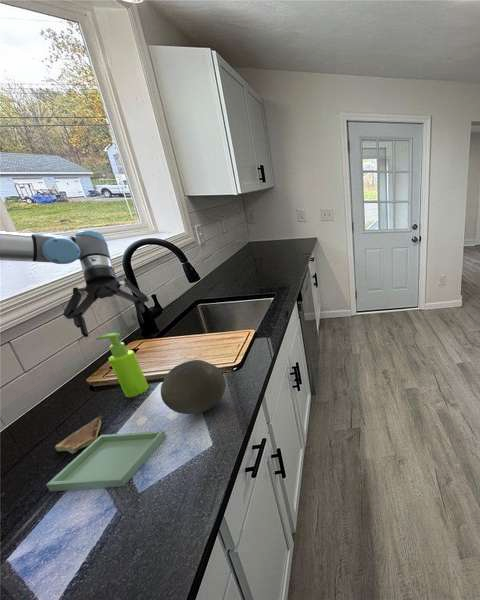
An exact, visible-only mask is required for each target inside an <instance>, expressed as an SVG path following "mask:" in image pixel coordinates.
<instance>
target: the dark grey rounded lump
mask: <svg viewBox="0 0 480 600" xmlns="http://www.w3.org/2000/svg"><path fill="white" fill-rule="evenodd" d="M226 384H227V383H226V379H225V376H224V375H223V372H222V370H220V368H219V367H218V366H216V365H214V364H212V363H210V362H208V361H206V360H202V359H193V360H188V361H185V362H182V363H180V364H178V365H176V366H174V367H172V368H171V369H170V370H169V371H168V372H167V374H166V375H165V376H164V377H163V381H162V383H161V385H160V397H161V400H162V402H163V403H164V405H165V406H166V407H167V408H168V409H170V410H171V411H173V412H176V413H178V414H181V415H182V414H183V415H198V414H201V413H204V412H206V411H209V410H210V409H211V408H213V407H215V406H216V405H217V404H218V403H219V402H220V401H221V399H222V398H223V396H224V394H225V392H226V387H227V385H226Z"/></svg>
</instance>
